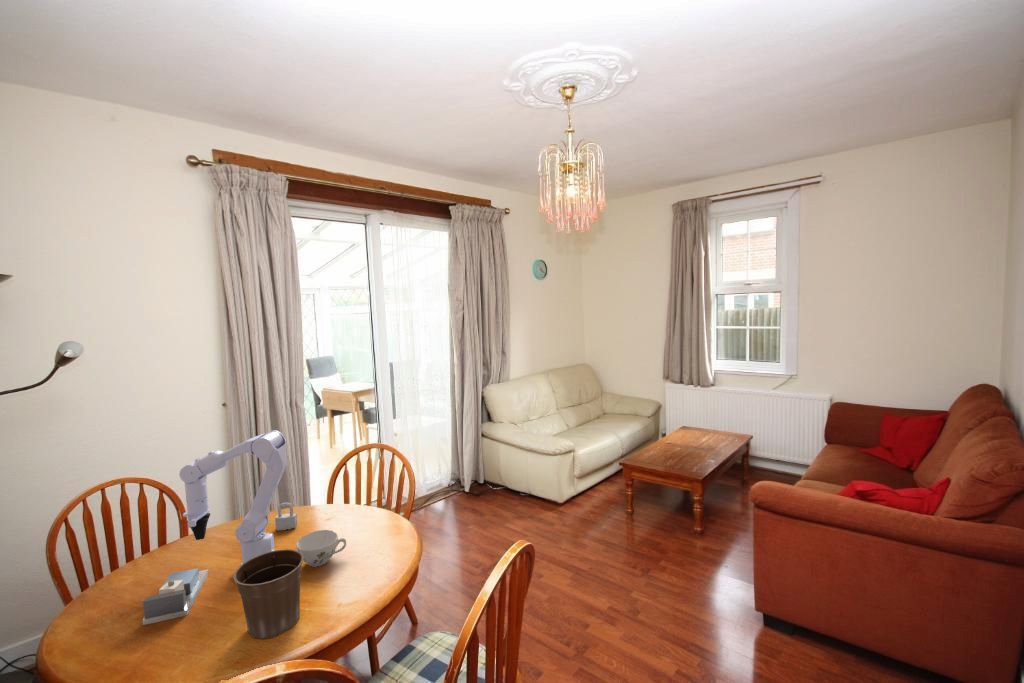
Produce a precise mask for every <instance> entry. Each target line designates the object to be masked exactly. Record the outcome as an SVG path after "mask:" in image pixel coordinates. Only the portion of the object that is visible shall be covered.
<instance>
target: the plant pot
mask: <svg viewBox="0 0 1024 683" xmlns="http://www.w3.org/2000/svg"><path fill="white" fill-rule="evenodd" d="M303 562H304V561H303V555H302V553H300V552H299V551H298V550H297V549H291V548H290V549H285V548H284V549H275V551H271V552H267V553H264V554H261V555H258V556H256V557H254V558H252V559H250V560H248V561H246V562H245V563H243V564H242V563H241V564H242V565H241V564H240V566H238V567H237V568H236V570H235V571H234V573H233V581H234V583H235V584H236V585H237V591H238V594H239V595H240V597H241V602H242V607H243V611H244V617H245V622H246V626H247V632H248V634H250V636H251V637H252V638H254V639H259V640H265V639H272V638H274V636H275V637H278V636H279V634H280V635H282V633H284V632H285V631H286V630H290V629H291V628H293V627H294V626H295V625H296V624H297V622H298V621H299V619H300V612H301V611H300V610H301V609H300V605H301V603H300V602H301V601H300V600H301V599H300V597H301V575H302V564H303Z"/></svg>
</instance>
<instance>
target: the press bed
mask: <svg viewBox="0 0 1024 683" xmlns="http://www.w3.org/2000/svg"><path fill="white" fill-rule="evenodd" d="M208 575H209V569H208V568H207V569H203V570H199V578H198V580H197V582H196V583H195V585H194V587H193V589H192V591H191V593H186V590H185V589H184V590H179V591H174V592H169V593H164V594H156V595H151V596H145V598H144V599H143V600H142V606H143V614H144V616H143V619H142V626H145V625H151V624H154V623H155V624H156V623H159V622H164V621H167V620H174V619H177V618H182V617H185V616H186V615H187V616H188V614H189V613H190V611H191V608H192V607H193V605H194V604H195V601H196V599H197V597H198V596H199V593H200V592H201V589H202V587H203V586H202V585H204V584H205V581H206V580H207V578H208ZM203 583H204V584H203Z"/></svg>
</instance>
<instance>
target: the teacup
mask: <svg viewBox="0 0 1024 683" xmlns="http://www.w3.org/2000/svg"><path fill="white" fill-rule="evenodd" d="M340 543H343V545H342V547H341V548H339V549H337V547H338V545H339V544H340ZM295 545H296V551H299V552H300V553H302V555H303V562H304V563H305V564H306V565H308V566H309V567H311V566H312V567H311V568H318V567H317V566H319V567H322V566H323V564H324V565H325V563H326V564H327V563H328V562H329V560H331V558H332V557H333V555H335V554H337V553H340V552H342V551H343V550H344V549H345V548H346V546H347V540H346V538H343V537H342V538H339V536H338V533H337V532H335V531H333V530H330V529H321V530H316V531H312V532H310V533H307V534H305V535H302V536H301V537H300V538H299V539H298V540H297V541H296V544H295ZM321 565H322V566H321Z"/></svg>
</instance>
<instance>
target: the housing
mask: <svg viewBox="0 0 1024 683" xmlns="http://www.w3.org/2000/svg"><path fill="white" fill-rule="evenodd" d="M162 586H163V585H162ZM162 586H161V587H160V588H159V590H158V593H159V594H164V593H169V592H174V591H179V590H184V582H183V580H177V581H174V580H170V581H168V582H167V583H166V584H165V585H164V586H163V587H162ZM159 594H158V595H159Z"/></svg>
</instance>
